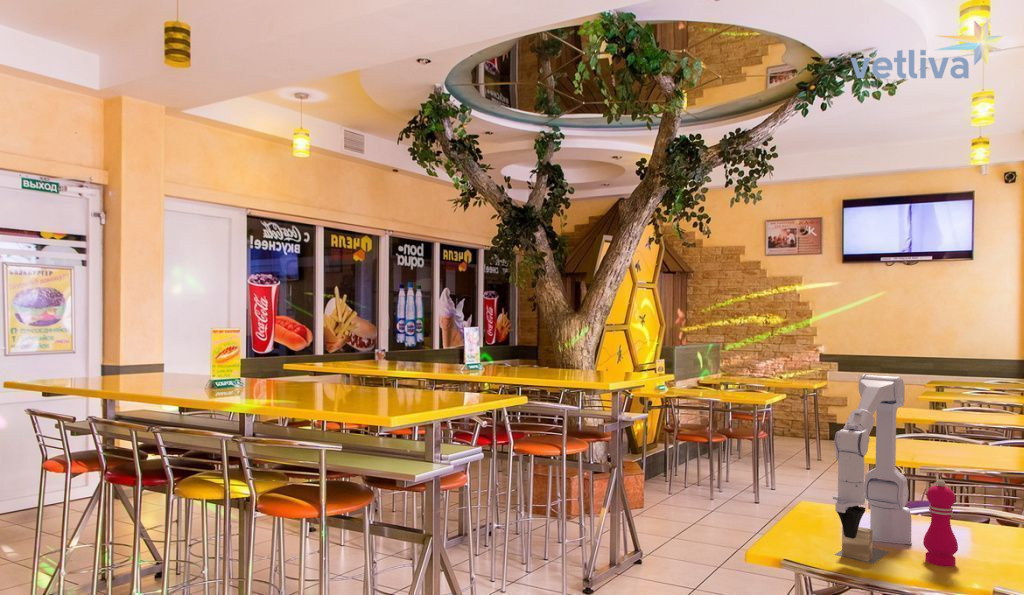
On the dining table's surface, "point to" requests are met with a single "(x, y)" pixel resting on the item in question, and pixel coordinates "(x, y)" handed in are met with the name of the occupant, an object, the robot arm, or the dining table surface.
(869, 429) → the robot arm
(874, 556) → the grey panel
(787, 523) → the dining table surface
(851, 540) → the birch block
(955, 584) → the dining table surface
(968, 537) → the dining table surface
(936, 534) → the pepper mill
